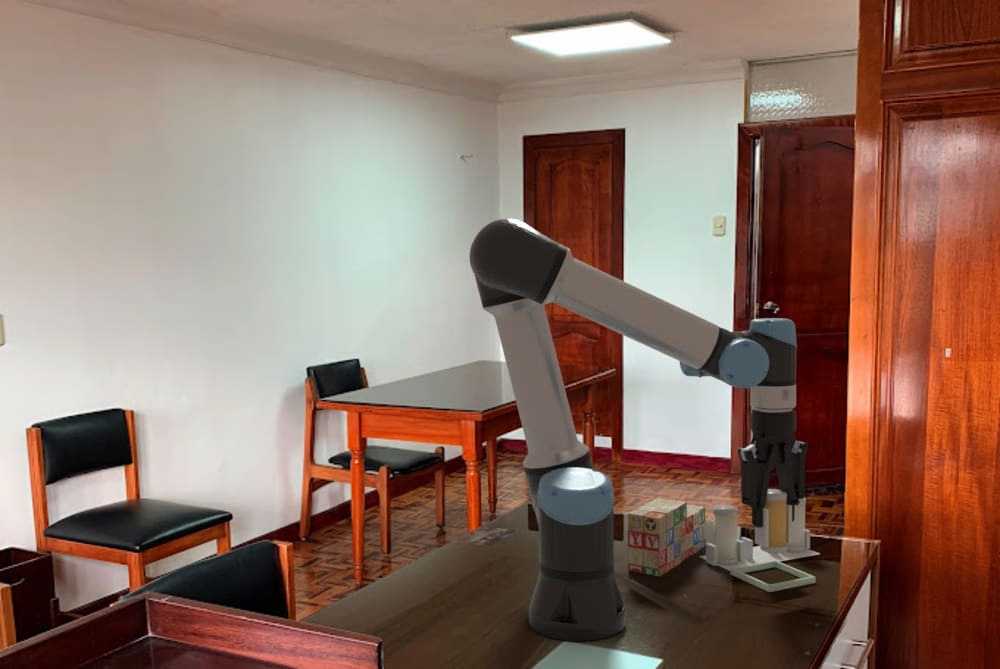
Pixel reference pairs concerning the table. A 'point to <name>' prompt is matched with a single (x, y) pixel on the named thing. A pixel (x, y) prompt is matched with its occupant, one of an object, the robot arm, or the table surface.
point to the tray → (804, 580)
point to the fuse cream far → (798, 529)
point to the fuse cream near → (725, 533)
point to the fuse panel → (755, 553)
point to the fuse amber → (776, 521)
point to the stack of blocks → (664, 535)
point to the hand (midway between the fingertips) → (773, 542)
